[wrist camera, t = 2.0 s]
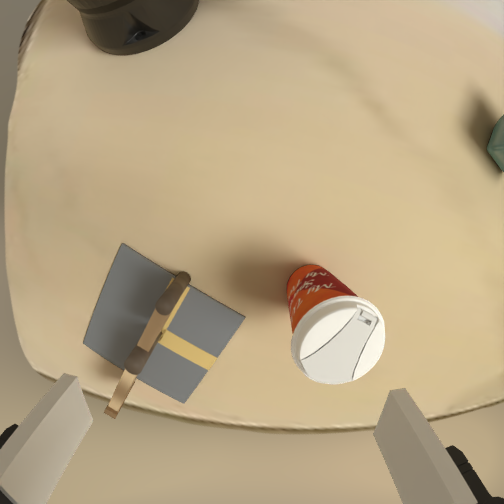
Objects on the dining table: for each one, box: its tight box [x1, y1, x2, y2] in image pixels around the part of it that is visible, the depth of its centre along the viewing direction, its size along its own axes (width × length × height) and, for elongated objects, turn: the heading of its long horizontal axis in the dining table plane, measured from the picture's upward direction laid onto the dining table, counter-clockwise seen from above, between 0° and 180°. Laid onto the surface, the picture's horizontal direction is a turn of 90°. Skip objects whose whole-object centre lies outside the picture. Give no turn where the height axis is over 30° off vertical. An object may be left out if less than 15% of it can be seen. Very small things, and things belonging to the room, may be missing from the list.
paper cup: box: [287, 265, 385, 384], centre depth 27 cm, size 8×8×14 cm
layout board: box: [83, 243, 245, 403], centre depth 35 cm, size 17×17×1 cm
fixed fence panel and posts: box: [124, 272, 191, 375], centre depth 30 cm, size 2×10×8 cm, turn 148°
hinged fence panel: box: [104, 369, 137, 419], centre depth 31 cm, size 9×2×8 cm, turn 148°
